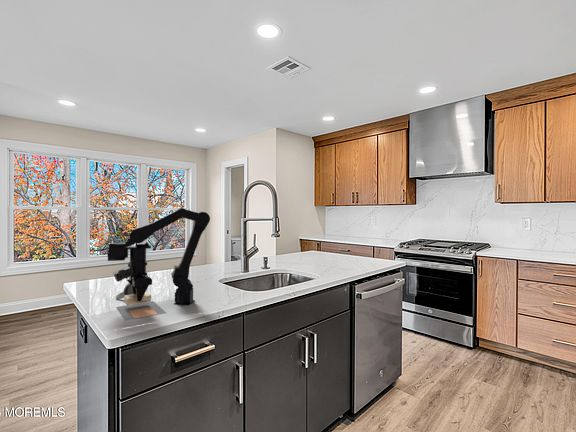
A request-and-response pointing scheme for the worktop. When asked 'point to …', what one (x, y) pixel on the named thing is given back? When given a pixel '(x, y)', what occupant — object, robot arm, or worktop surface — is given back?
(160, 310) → the mat
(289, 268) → the worktop surface
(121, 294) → the ceramic mug
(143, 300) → the card box
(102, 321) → the worktop surface
